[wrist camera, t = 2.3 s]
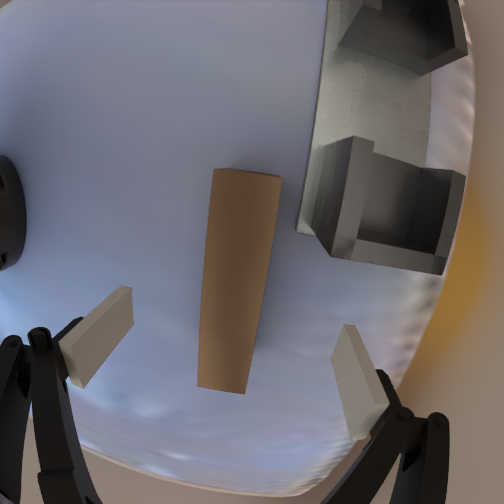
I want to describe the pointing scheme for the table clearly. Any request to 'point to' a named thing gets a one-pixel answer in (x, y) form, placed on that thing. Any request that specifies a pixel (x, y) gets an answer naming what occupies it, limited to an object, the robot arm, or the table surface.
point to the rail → (235, 274)
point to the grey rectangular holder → (382, 135)
